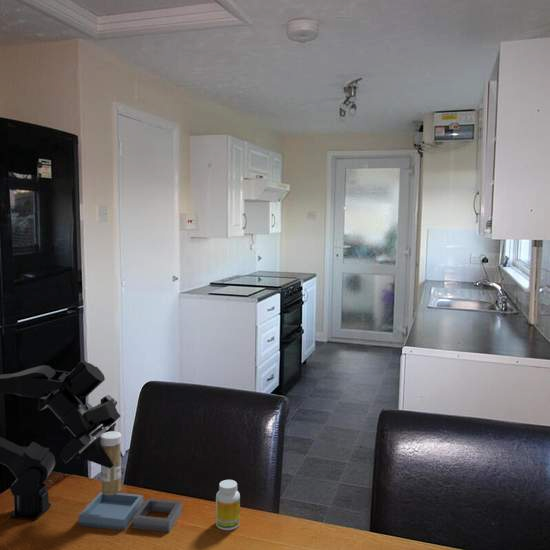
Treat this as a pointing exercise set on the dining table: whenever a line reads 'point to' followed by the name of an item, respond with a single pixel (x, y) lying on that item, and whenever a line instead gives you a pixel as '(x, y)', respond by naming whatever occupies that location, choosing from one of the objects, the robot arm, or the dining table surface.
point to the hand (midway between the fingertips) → (116, 462)
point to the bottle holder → (153, 522)
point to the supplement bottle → (227, 505)
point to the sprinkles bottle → (112, 449)
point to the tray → (111, 511)
